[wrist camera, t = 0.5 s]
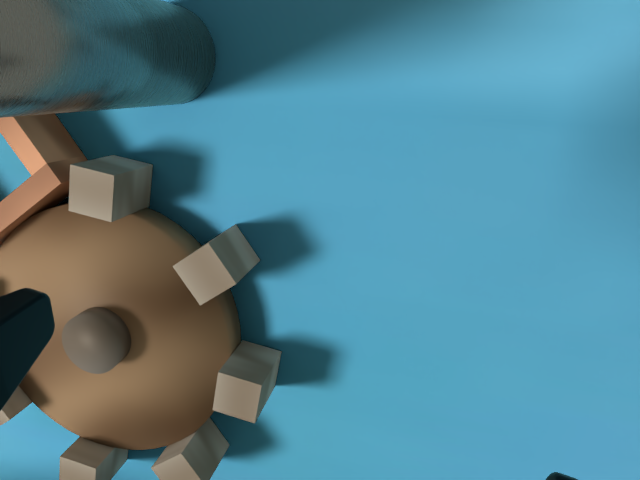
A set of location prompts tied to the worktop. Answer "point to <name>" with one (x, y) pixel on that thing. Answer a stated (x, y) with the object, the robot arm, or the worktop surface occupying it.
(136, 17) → the pin
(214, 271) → the sprocket
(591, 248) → the worktop surface
